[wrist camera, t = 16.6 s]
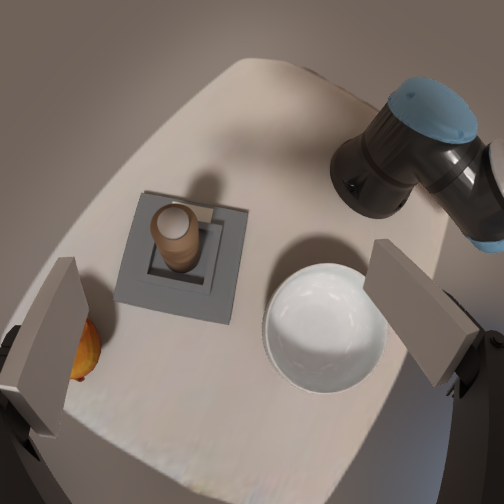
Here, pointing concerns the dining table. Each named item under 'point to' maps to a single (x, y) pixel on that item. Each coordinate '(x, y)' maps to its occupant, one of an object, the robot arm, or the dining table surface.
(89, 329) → the cheeseburger
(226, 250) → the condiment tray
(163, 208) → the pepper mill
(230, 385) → the dining table surface
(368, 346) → the cereal bowl
